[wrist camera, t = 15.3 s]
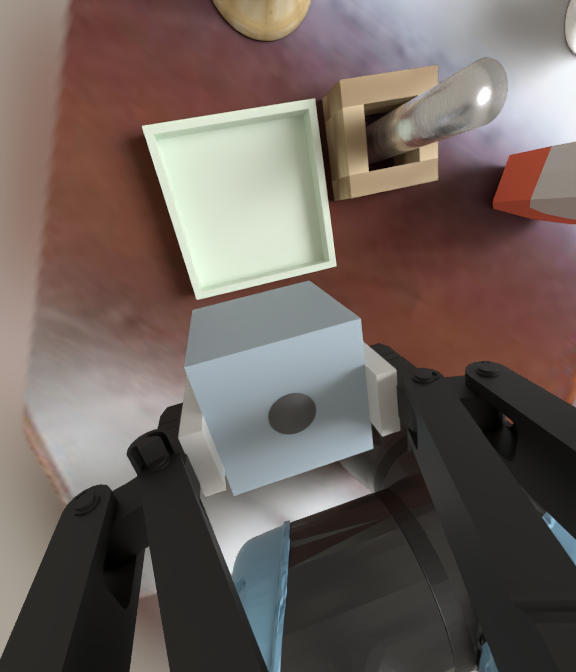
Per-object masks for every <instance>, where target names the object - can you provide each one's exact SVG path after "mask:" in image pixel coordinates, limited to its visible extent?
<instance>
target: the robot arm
mask: <svg viewBox="0 0 576 672" xmlns="http://www.w3.org/2000/svg"><path fill="white" fill-rule="evenodd" d="M363 347H364V357H365V374H366V383H367V392H368V402H369V411H370V421H371V429H372V439H373V449H371V450H368V451H365V452H362V453H359V454H356V455H353V456H350V457H347V458H344V459H342V460H339V462H340V464H341V465H342V466H343V468H344V469H345V470H346V471H347V472H348V473H350V474H351V475H352V476H353V477H354V478H356V479H357V480H358V481H359V482H360V483H361V484H363V485H364V486H365V487H366V488H367V489H369V490H370V491H371V492H372V494H368V495H366V496H363V497H360V498H358V499H355V500H352V501H349V502H347V503H344V504H341V505H338V506H336V507H333V508H330V509H327V510H324V511H322V512H319V513H316V514H313V515H310V516H307V517H305V518H302V519H299V520H296V521H293V522H291V523H290V521H285V522H284V523H283V525H282V526H280V527H277V528H275V529H273V530H270V531H268V532H266V533H263V534H261V535H259V536H256V537H254V538H252V539H250V540H248V541H247V542H246V543H245V544H244V545H243V546H242V548H241V549H240V551H239V553H238V555H237V557H236V560H235V563H234V567H233V573H232V577H231V575H230V572H229V569H228V567H227V564H226V562H225V559H224V557H223V554H222V552H221V549H220V547H219V544H218V541H217V539H216V536H215V534H214V531H213V529H212V526H211V524H210V521H209V519H208V516H207V513H206V511H205V508H204V506H203V504H202V502H201V499H200V488H201V490H202V492H203V495H204V497H208V496H211V495H213V494H216V493H219V492H222V491H225V490H226V481H225V469H224V467H223V464H222V462H221V459H220V457H219V454H218V452H217V449H216V447H215V444H214V441H213V439H212V436H211V434H210V431H209V429H208V426H207V424H206V421H205V419H204V416H203V414H202V413H201V410H200V407H199V405H198V402H197V400H196V397H195V394H194V392H193V389H192V387H191V384H190V381H189V379H188V376H187V378H186V385H185V392H184V400H183V403H180V404H177V405H174V406H170V407H167V408H166V410H165V411H164V412H163V414H162V415H161V416H160V420H159V424H158V425H159V426H158V429H156V430H152V431H150V432H147V433H145V434H143V435H142V436H140V437H138V438H137V439H136V440H135V441H134V442H133V443H132V444H131V445H130V447H129V448H128V450H127V457H128V458H129V460H130V462H131V464H132V466H133V467H134V469H135V471H136V473H137V475H138V476H137V477H136V478H134V479H133V480H131V481H130V482H128V483H126V484H125V485H123V486H121V487H119V488H117V489H116V490H114V491H112V490H111V489H110V488H109V487H108V486H107V485H102V484H100V485H96V486H92V487H90V488H88V489H86V490H84V491H83V492H81V493H80V494H78V495H77V496H76V497H74V498H73V499H72V501H71V502H70V503H69V504H68V505H67V506H66V508H65V509H64V511H63V513H62V515H61V517H60V519H59V522H58V524H57V526H56V529H55V531H54V534H53V536H52V538H51V541H50V543H49V545H48V548H47V550H46V553H45V555H44V557H43V560H42V562H41V564H40V567H39V569H38V572H37V574H36V576H35V578H34V581H33V583H32V586H31V588H30V590H29V593H28V595H27V598H26V600H25V602H24V604H23V607H22V609H21V612H20V614H19V616H18V619H17V621H16V623H15V626H14V628H13V630H12V633H11V635H10V638H9V640H8V642H7V645H6V647H5V649H4V652H3V654H2V657H1V659H0V672H129V670H130V663H131V655H132V647H133V639H134V632H135V624H136V616H137V608H138V600H139V592H140V585H141V577H142V569H143V561H144V553H145V548H147V547H148V546H149V547H150V553H151V559H152V565H153V571H154V577H155V583H156V589H157V595H158V601H159V607H160V613H161V619H162V625H163V631H164V637H165V643H166V649H167V655H168V661H169V667H170V672H471V671H474V670H476V671H478V672H576V408H575V407H574V406H572V405H570V404H569V403H567V402H565V401H564V400H562V399H560V398H558V397H557V396H555V395H553V394H552V393H550V392H548V391H546V390H545V389H543V388H541V387H540V386H538V385H536V384H534V383H533V382H531V381H529V380H528V379H526V378H524V377H522V376H521V375H519V374H517V373H515V372H514V371H512V370H510V369H509V368H507V367H505V366H503V365H501V364H498V363H494V362H490V361H480V362H474V363H471V364H469V365H468V366H467V367H466V369H465V376H455V377H443V375H442V374H440V373H439V372H438V371H435V370H433V369H427V368H417V367H415V366H414V365H413V364H411V363H410V362H409V361H407V360H406V359H405V358H403V357H401V355H399V354H398V353H397V352H395V351H394V350H393V349H391V348H390V347H389V346H386V345H383V344H379V343H378V344H375V345H371V346H368V345H367V344H366V343H364V342H363ZM506 416H507V417H508V418H509V419H510V420H511V421H512V422H513V424H511V423H510V422H508V421H507V420H506Z"/></svg>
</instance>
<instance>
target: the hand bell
mask: <svg viewBox="0 0 576 672" xmlns="http://www.w3.org/2000/svg"><path fill="white" fill-rule="evenodd" d="M311 1H312V0H213V2H214V4H215V6H216V7H217V9H218V10H219V12H220V13H221V14H222V16H223V17H224V18H225V19H226V20H227V21H228V22H229V23H230V25H231V26H232V27H234V28H235V29H236V30H238V31H239V32H240V33H242V34H244V35H246V36H248V37H250V38H253V39H256V40H261V41H273V40H277V39H281V38H283V37H285V36H287V35H288V34H290V33H291V32H293V31H294V30H295V29H296V28H297V27H298V26H299V24H300V23H301V22H302V20H303V19H304V17H305V16H306V14H307V11H308V9H309V7H310V4H311Z"/></svg>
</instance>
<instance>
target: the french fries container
mask: <svg viewBox="0 0 576 672" xmlns="http://www.w3.org/2000/svg"><path fill="white" fill-rule="evenodd" d="M493 209H496V210H500V211H504V212H507V213H511V214H515V215H518V216H522V217H526V218H529V219H535V220H543V221H551V222H559V223H566V224H576V142H572V143H567V144H561V145H556V146H551V147H546V148H541V149H537V150H532V151H527V152H523V153H518V154H513V155H510V156H509V158H508V161H507V164H506V167H505V169H504V172H503V175H502V178H501V180H500V183H499V186H498V189H497V191H496V194H495V197H494V200H493Z"/></svg>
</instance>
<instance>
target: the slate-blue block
mask: <svg viewBox="0 0 576 672" xmlns="http://www.w3.org/2000/svg"><path fill="white" fill-rule="evenodd" d="M184 369H185V371H186V374H187V376H188V379H189V381H190V384H191V387H192V389H193V392H194V394H195V397H196V400H197V402H198V405H199V407H200V410H201V413H202V414H203V416H204V419H205V421H206V424H207V426H208V429H209V431H210V434H211V436H212V439H213V441H214V444H215V447H216V449H217V452H218V454H219V457H220V459H221V462H222V464H223V467H224V469H225V475H226V477H227V480H228V483H229V485H230V488H231V490H232V493H233V496H236V495H239V494H242V493H245V492H248V491H251V490H254V489H257V488H260V487H262V486H265V485H268V484H271V483H274V482H277V481H280V480H283V479H286V478H289V477H292V476H295V475H298V474H301V473H303V472H306V471H309V470H312V469H315V468H318V467H321V466H324V465H327V464H330V463H333V462H336V461H339V460H342V459H344V458H347V457H350V456H353V455H356V454H359V453H362V452H365V451H368V450H371V449H373V439H372V429H371V421H370V411H369V402H368V392H367V383H366V374H365V357H364V347H363V336H362V326H361V318H359V317H358V316H357V315H355V314H354V313H353V312H351V311H350V310H349V309H347V308H346V307H345V306H343V305H342V304H340V303H339V302H338V301H336V300H335V299H334V298H332V297H331V296H330V295H328V294H327V293H325V292H324V291H323V290H321V289H320V288H319V287H317V286H316V285H315V284H313V283H312V282H310V281H305V282H301V283H297V284H294V285H290V286H286V287H282V288H278V289H274V290H270V291H266V292H262V293H258V294H254V295H250V296H246V297H242V298H238V299H234V300H231V301H227V302H223V303H219V304H215V305H211V306H207V307H203V308H199V309H195V310H193V311H192V318H191V324H190V331H189V338H188V345H187V351H186V358H185V365H184Z"/></svg>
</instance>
